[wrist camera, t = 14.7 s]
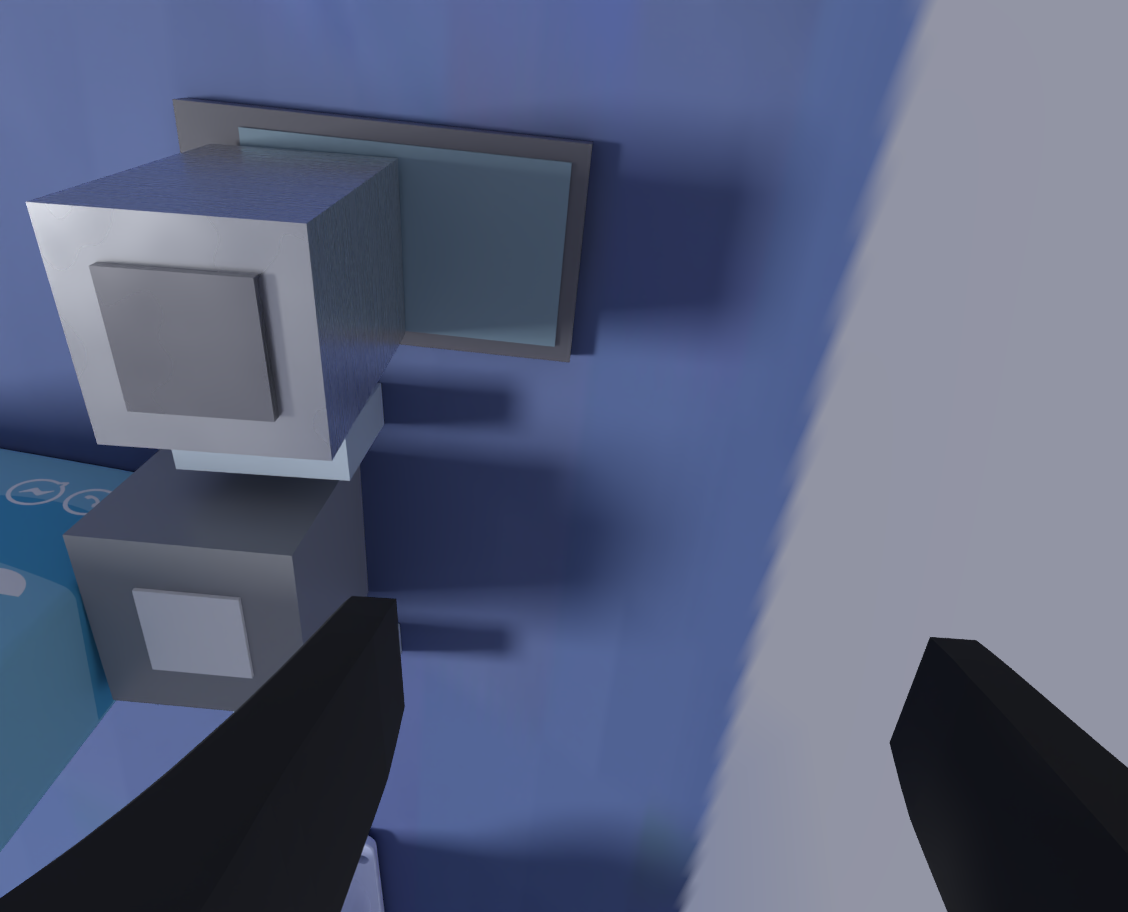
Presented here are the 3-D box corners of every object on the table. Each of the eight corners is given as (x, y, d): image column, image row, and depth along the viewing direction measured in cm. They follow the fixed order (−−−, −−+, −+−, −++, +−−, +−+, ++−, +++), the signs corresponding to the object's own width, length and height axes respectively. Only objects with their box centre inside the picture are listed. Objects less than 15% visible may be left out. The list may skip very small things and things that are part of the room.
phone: (571, 345, 19) (569, 364, 18) (228, 308, 19) (204, 325, 18) (593, 138, 17) (592, 144, 15) (200, 96, 17) (170, 99, 15)
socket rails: (401, 651, 24) (376, 726, 21) (276, 642, 24) (234, 715, 21) (380, 382, 19) (345, 435, 16) (225, 372, 19) (165, 422, 16)
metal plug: (405, 334, 18) (328, 467, 12) (239, 321, 18) (90, 450, 12) (397, 158, 16) (301, 227, 10) (210, 143, 16) (16, 204, 10)
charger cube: (369, 590, 23) (311, 721, 18) (208, 575, 23) (110, 702, 18) (360, 448, 20) (290, 558, 16) (180, 431, 20) (59, 537, 16)
